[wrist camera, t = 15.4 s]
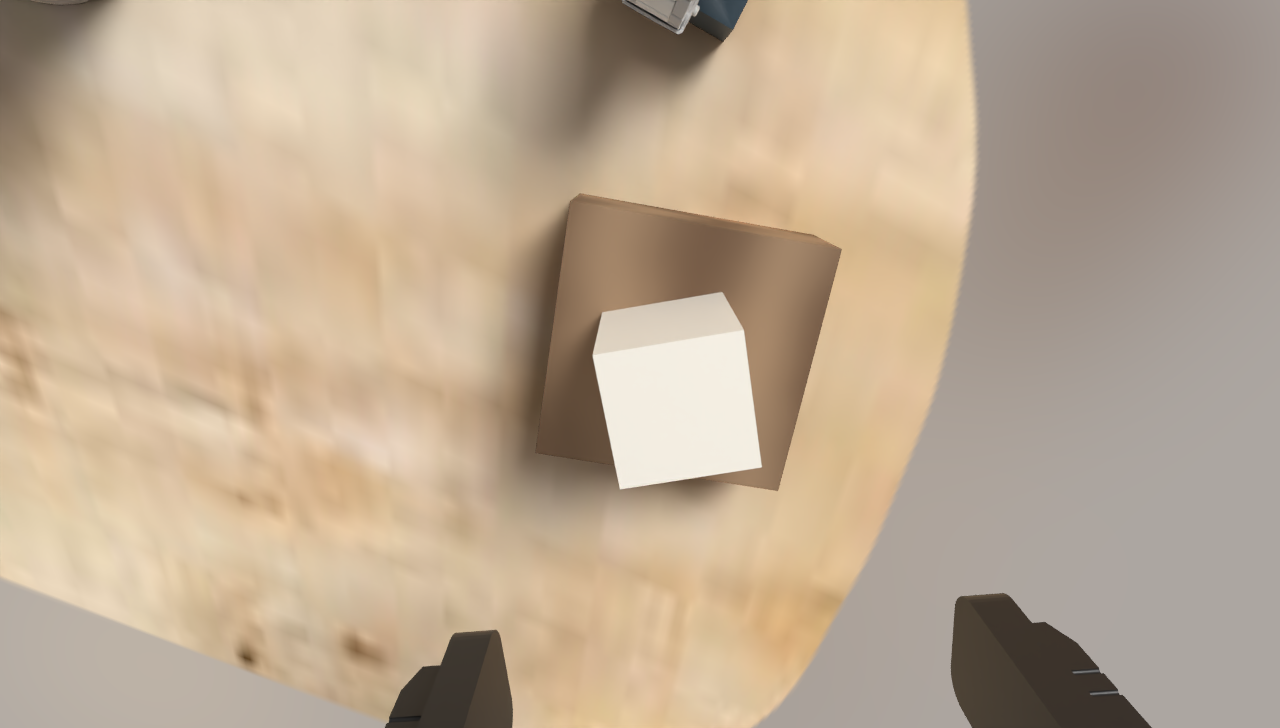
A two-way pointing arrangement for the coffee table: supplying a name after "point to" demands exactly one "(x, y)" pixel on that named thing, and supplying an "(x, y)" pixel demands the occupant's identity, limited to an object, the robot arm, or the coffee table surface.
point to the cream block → (676, 391)
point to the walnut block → (676, 269)
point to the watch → (692, 14)
